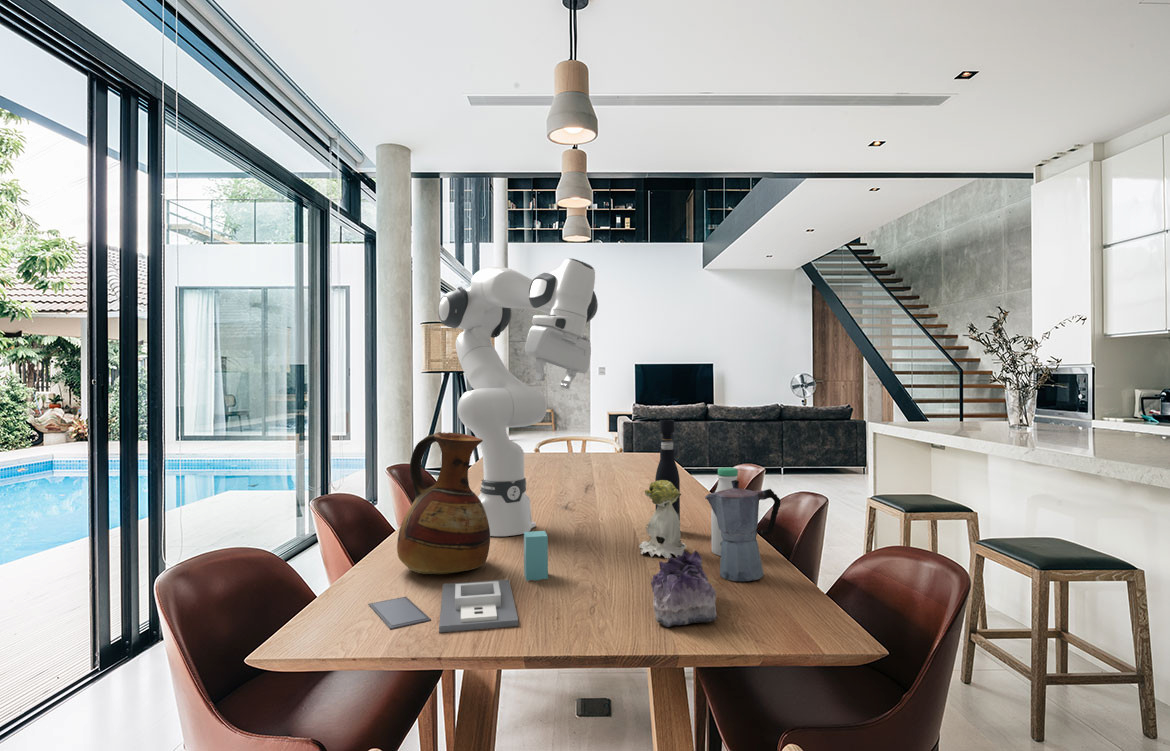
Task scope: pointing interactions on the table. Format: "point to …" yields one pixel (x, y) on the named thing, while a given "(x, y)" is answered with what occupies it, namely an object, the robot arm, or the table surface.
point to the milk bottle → (724, 483)
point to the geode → (683, 592)
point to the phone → (399, 612)
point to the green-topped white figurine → (663, 522)
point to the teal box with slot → (535, 555)
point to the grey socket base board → (477, 606)
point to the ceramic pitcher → (444, 513)
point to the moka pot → (741, 530)
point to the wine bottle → (668, 461)
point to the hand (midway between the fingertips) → (552, 384)
